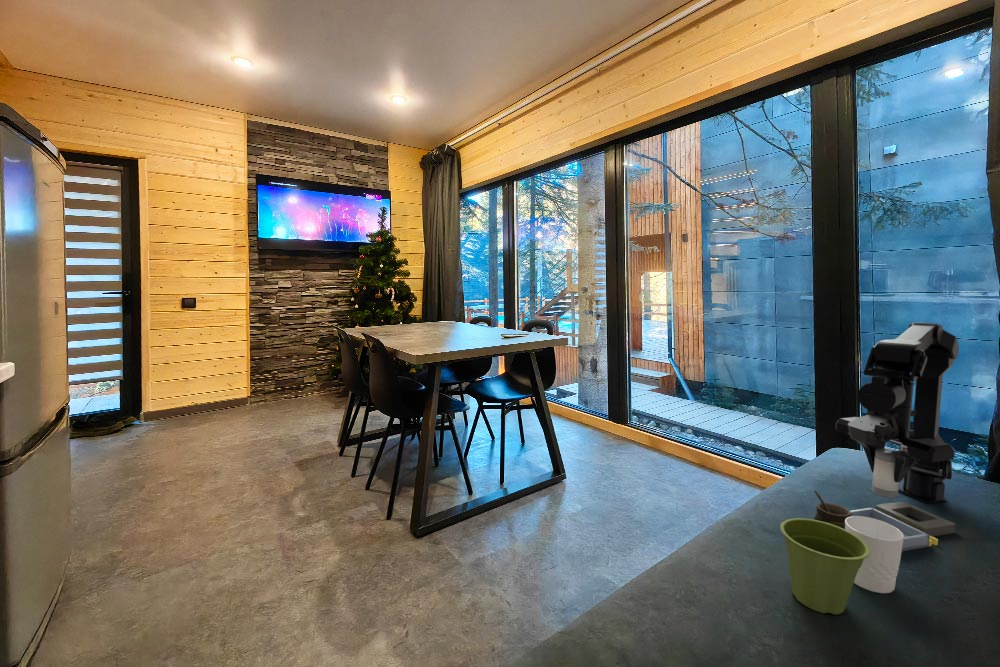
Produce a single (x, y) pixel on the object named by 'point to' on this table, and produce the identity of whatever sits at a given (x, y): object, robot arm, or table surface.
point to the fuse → (884, 474)
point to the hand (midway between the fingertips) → (885, 477)
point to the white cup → (877, 553)
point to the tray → (911, 534)
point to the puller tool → (933, 541)
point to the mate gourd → (831, 513)
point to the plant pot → (822, 562)
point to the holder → (929, 521)
